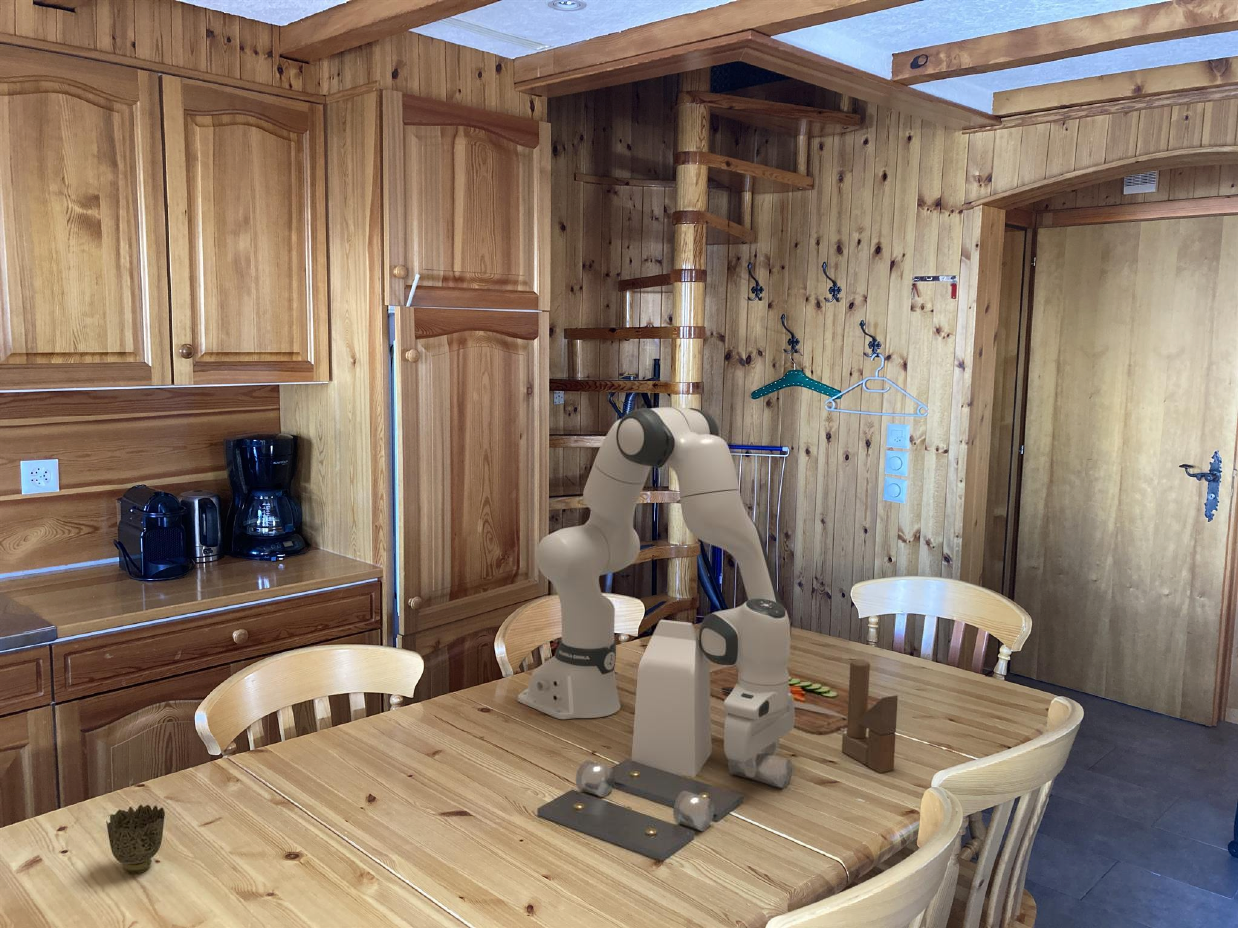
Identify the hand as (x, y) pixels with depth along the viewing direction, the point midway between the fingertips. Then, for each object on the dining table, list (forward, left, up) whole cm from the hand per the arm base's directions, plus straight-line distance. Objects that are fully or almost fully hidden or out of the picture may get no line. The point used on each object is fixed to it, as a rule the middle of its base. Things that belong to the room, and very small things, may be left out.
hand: (759, 769), depth 175 cm
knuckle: (0, 0, -2) cm, 2 cm away
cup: (-56, -82, -2) cm, 99 cm away
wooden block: (+12, +20, -2) cm, 23 cm away
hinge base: (-10, -22, -2) cm, 24 cm away
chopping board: (-16, +43, -3) cm, 46 cm away
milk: (-17, -2, -2) cm, 17 cm away
